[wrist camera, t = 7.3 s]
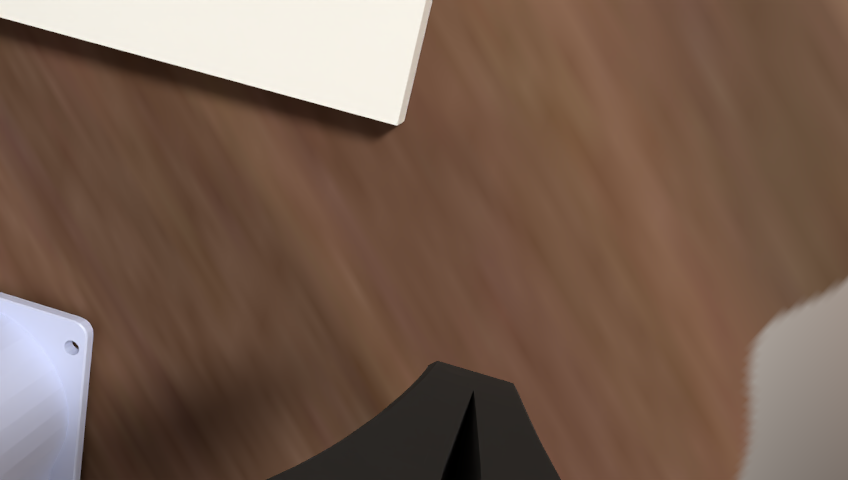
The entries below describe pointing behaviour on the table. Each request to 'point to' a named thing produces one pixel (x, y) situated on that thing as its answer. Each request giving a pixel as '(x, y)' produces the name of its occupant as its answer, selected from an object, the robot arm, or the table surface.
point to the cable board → (262, 43)
